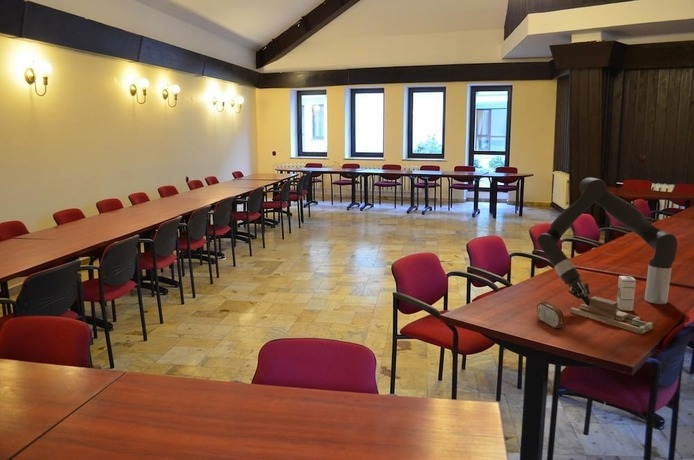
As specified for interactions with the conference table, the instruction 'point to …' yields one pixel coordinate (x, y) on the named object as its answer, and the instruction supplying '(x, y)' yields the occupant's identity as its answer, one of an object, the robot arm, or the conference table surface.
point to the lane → (619, 316)
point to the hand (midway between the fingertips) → (590, 305)
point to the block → (603, 307)
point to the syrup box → (626, 293)
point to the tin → (550, 315)
